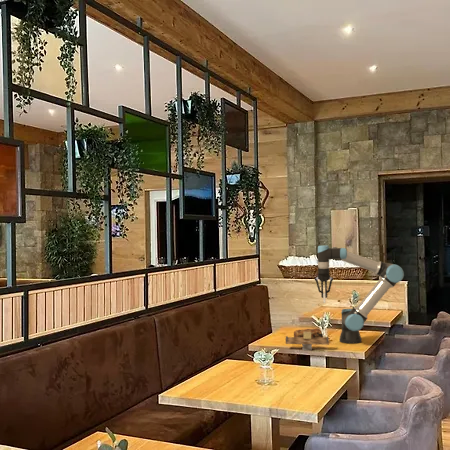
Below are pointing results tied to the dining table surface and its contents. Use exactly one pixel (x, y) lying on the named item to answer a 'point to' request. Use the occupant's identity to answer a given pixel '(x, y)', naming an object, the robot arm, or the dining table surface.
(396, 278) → the robot arm
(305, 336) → the block
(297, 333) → the bread
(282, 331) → the dining table surface
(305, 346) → the beam
